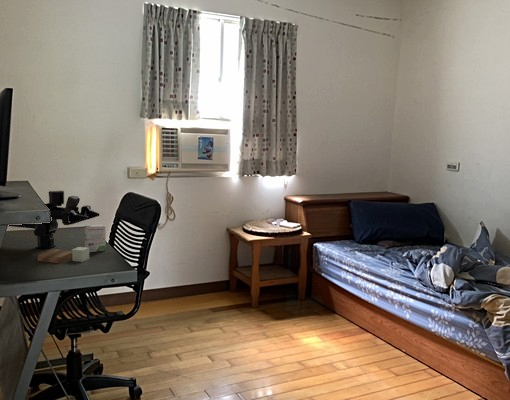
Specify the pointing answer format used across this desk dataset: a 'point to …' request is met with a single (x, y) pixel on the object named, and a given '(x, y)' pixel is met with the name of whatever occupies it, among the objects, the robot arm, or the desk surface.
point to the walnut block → (55, 256)
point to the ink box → (95, 238)
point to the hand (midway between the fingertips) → (93, 216)
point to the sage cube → (80, 254)
